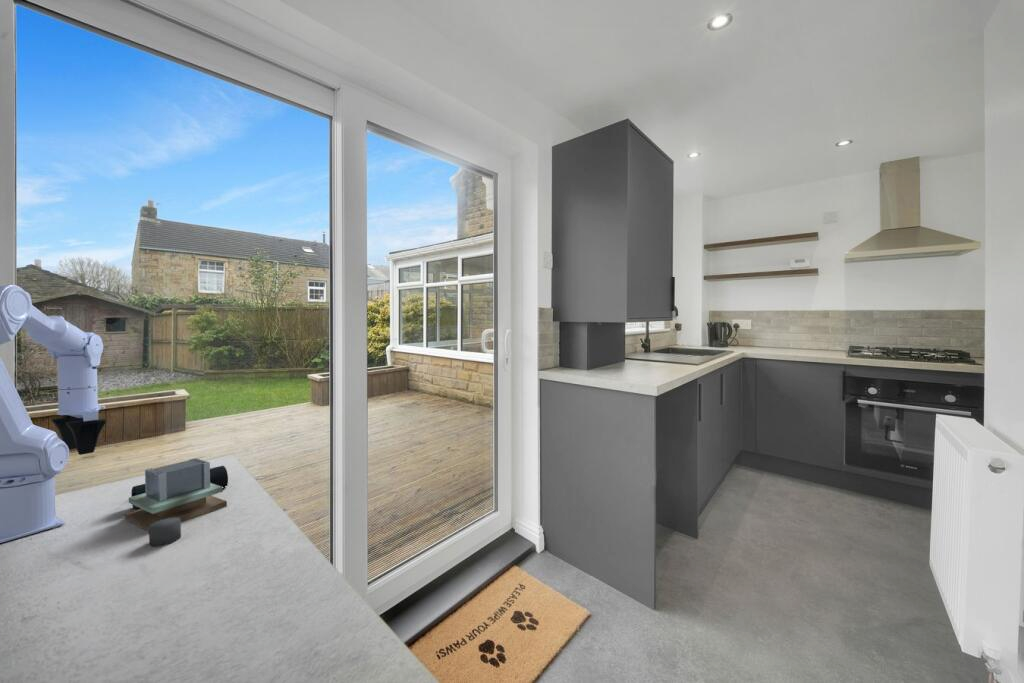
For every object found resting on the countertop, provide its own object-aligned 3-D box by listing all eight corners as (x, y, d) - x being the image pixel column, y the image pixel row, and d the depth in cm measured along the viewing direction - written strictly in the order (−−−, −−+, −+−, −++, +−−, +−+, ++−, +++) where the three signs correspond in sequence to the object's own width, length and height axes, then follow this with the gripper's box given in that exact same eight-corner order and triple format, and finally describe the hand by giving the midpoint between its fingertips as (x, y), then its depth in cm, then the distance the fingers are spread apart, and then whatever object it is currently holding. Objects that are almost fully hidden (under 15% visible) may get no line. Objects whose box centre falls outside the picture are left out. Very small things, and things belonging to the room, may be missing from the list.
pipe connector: (123, 475, 83) (209, 457, 95) (123, 500, 83) (209, 479, 95) (137, 489, 76) (227, 467, 88) (138, 515, 76) (228, 490, 89)
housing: (195, 482, 82) (194, 458, 82) (210, 487, 79) (209, 462, 79) (145, 496, 75) (145, 470, 75) (160, 502, 72) (159, 475, 72)
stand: (150, 532, 69) (150, 509, 69) (124, 519, 74) (124, 498, 74) (226, 506, 79) (226, 486, 79) (199, 495, 85) (198, 477, 84)
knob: (155, 549, 64) (155, 531, 63) (144, 543, 65) (144, 525, 65) (185, 538, 67) (185, 520, 67) (174, 532, 69) (174, 515, 69)
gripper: (117, 387, 84) (118, 450, 84) (91, 384, 91) (93, 442, 91) (69, 391, 78) (70, 459, 78) (45, 387, 85) (47, 450, 85)
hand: (79, 451), depth 84 cm, fingers open, 7 cm apart
